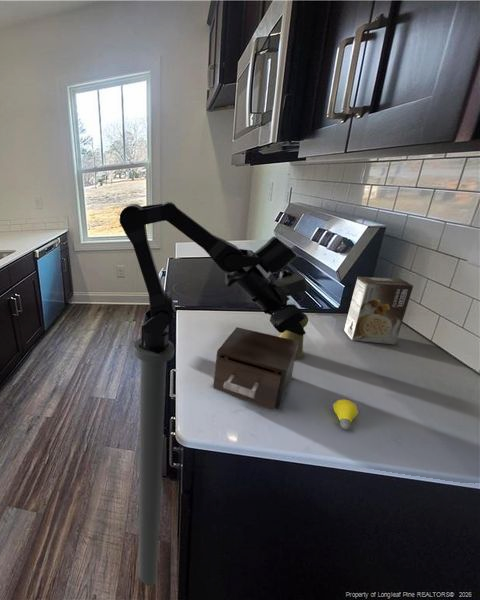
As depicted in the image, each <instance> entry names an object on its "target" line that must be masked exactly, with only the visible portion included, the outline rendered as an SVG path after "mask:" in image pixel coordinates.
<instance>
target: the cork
mask: <svg viewBox="0 0 480 600" xmlns="http://www.w3.org/2000/svg"><path fill="white" fill-rule="evenodd" d="M304 314H305V316H306V317H305V319H303V320H302V321H300V324H301V325H302V327H303V329H304V330H305V327H307V325H308V323H309V317H308V315H307V314H306V313H304ZM278 337H282V338H286V339H291V340H295V341H299V344H298V348H297V353H296V358H295V360H296V359H300V358H302V357H303V351H304V335H302V336H301V335H298V334H295V333H293V332H290V331H287V330H286V331H284V332H283V333H279V335H278Z"/></svg>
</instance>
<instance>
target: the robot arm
mask: <svg viewBox="0 0 480 600" xmlns="http://www.w3.org/2000/svg"><path fill="white" fill-rule="evenodd" d="M118 220H119V224H120V226H121V228H122V230H123V232H124V234H125V236H126V237H127V238H128V240H129V242H130V243H131V245H132V247H133V250H134V253H135V256H136V259H137V263H138V265H139V270H140V272H141V275H142V278H143V281H144V284H145V287H146V290H147V294H148V302H149V303H148V304H149V309H148V310H147V311H145V312H144V313H143V322H142V325H141V336H140V338H141V344H139V345H138V347H139V348H142V349H145V350H148V351H151V352H154V353H157V354H159V353H161V352H162V351H163V350H164V349H165V348H166V347H167V346H168V345H169V343H168V340H169V337H170V336H169V334H170V333H169V332H168V326H169V325H171V324H172V323H173V321H174V318H175V315H174V314H176V302H175V301H174V299H173V297H172V291H171V290H169V291H167V292H166V291H165V289H164V287H163V285H162V281H161V279H160V278H161V277H160V274H159V272H158V269H157V265H156V262H155V258H154V256H153V252H152V248H151V245H150V242H149V239H148V229H147V225H150V224H156V223H160V222H165V221H166V222H168V223H169V224H170V225H172V227H174V228H175V229H177V230H178V231H179V232H180V233H182V234H183V235H184V236H186V237H187V238H189V239H190V240H191V241H192V242H194V243H195V244H196V245H198V246H199V247H200V248H201V249H203V250H204V251H205V253H206V254H207V255H208V256H209V257H210V258H211V260H212V261H214V263H215V264H216V265H217V266H218V267H219V268H220V269H221V270H222V271H223V272H225V274H224V275H225V279H224V283H225V285H226V287H228V288H229V287H231V286H233V285H234V284H235V283H236V285H237V286H238V287H240V288H241V289H242V290H243V291H244V292H245V294H247V296H248V297H249V298H250V300H251V301H252V302H253V303H255V304H256V305H257V306H258V307H259V308H260V309H261V310H262V312H263V313H264V314H265V315H270V317H269V322H270V323H271V325H272V326H273V328H274V329H275V330H276V331H277V332H278V333H279V334H280V333H283V332H284V331H286V330H287V331H290V332H293V333H295V334H298V335H301V336H302V335H303V336H305V335H306V331H305V328H304V329H303V327H302V325H301V324H300V321H302V320H303V319H305V317H306V316H305V314H306V313H304V312H303V311H302V310H301V309H300V308H299V307H298V306H297V305H296V304H294V303H293V304H292V303H288V301H289V300H290V298H289V297H291V296H294V295H297V294H301V293H306V292H308V291H309V290H310V288H309V286H308V282H307V279H306V277H305V276H304V275H303V274H302V273H300V272H293V273H292V272H290V271H289V270H288V269H287V268H286V269H284V270H282V269H283V268H285V267H286V266H287V265H289V264H290V263H292V262H293V261H294V260H295V259H297V258H298V256H297V255H296V253H295V252H294V251H293V250H292V249H291V248H290V247H289V246H287V245H286V244H284V242H282V241H281V240H280V239H279V238H278V237H276V236H272V237H271V238H270V239H268V241H267V242H266V243H265V244H264V245H262V246H261V247H260V248H258V249H257V250H256V251H255V252H254V251H253V250H252V249H245V248H244V249H243V248H239V247H238V246H237V245H236V244H233V243H232V242H229V241H227V240H225V239H223V238H221V237H218V236H217V235H214V234H213V233H212V232H210V231H208V230H207V229H206V228H205V227H204V226H202V225H200V224H199V223H198V222H197V221H195V220H194V219H193V218H191V217H190V216H189V215H187V214H186V212H184V211H182V210H181V209H180V208H179V207H177V205H176V204H175V203H174V202H172V201H166V202H164V203H157V204H156V203H155V204H149V205H140V204H137V203H131V204H130V203H129V204H128V205H127V206H125V207H124V208H123V209H122V211H121V212H120V214H119V218H118ZM258 266H259V267H261V269H262V270H263V271H264V272H265V273H266V274H269V273H270V274H276V273H278V272H279V271H280V272H279V277H277V280H274V281H273V280H272V279H271V278H268V277H267V276H266V275H265V274H264V273H263V272H262V271H261V270H260V269H259V268H258Z"/></svg>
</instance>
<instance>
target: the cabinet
mask: <svg viewBox="0 0 480 600" xmlns="http://www.w3.org/2000/svg"><path fill="white" fill-rule="evenodd" d="M298 344H299V341H295V340H291V339H286V338H282V337H279V335H278V336H277V335H273V334H270V333H269V334H268V333H264V332H260V331H255V330H251V329H247V328H242V327H238V326H237V327H235V328H234V330H233V331H232V332H231V333H230V334H229V336H228V337H227V338H226V339H225V341H224V342H223V343H222V344H221V346H220V347H219V348H218V349H217V351H216V357H215V364H216V363H217V358H218V357H221V358H224V356H225V357H228V358H232V359H235V360H239V361H242V362H246V363H249V364H253V365H256V366H259V367H263V368H266V369H270V370H273V371H277V372H280V373H281V375H282V377H281V382H280V387H279V392H278V397H277V402H276V407H275V409H274V410H278V411H280V408H281V406H282V404H283V400H284V398H285V396H286V393H287V390H288V388H289V385H290V382H291V380H292V377H293V371H294V367H295V363H296V359H297V358H296V353H297V348H298ZM295 358H296V359H295ZM215 372H216V365H215V367H214V373H215ZM214 381H215V375H214V377H213V382H214ZM212 387H213V388H214V383H213V385H212Z"/></svg>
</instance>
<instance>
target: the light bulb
mask: <svg viewBox="0 0 480 600" xmlns="http://www.w3.org/2000/svg"><path fill="white" fill-rule="evenodd" d="M332 407H333V412H334V414H335V415H336V416H337V417H338V420H339V422H340V427H341V428H343V429H344V430H347V429H350V428H351V423H352V422H353V420H354V419H355V418H356V417H357V416H358V414H359V410H358V407H357V405H356V404H355V403H354V402H352V401H351V400H349V399H345V398H343V399H337V400H336V401H335V402H334V403H333V406H332Z"/></svg>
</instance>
